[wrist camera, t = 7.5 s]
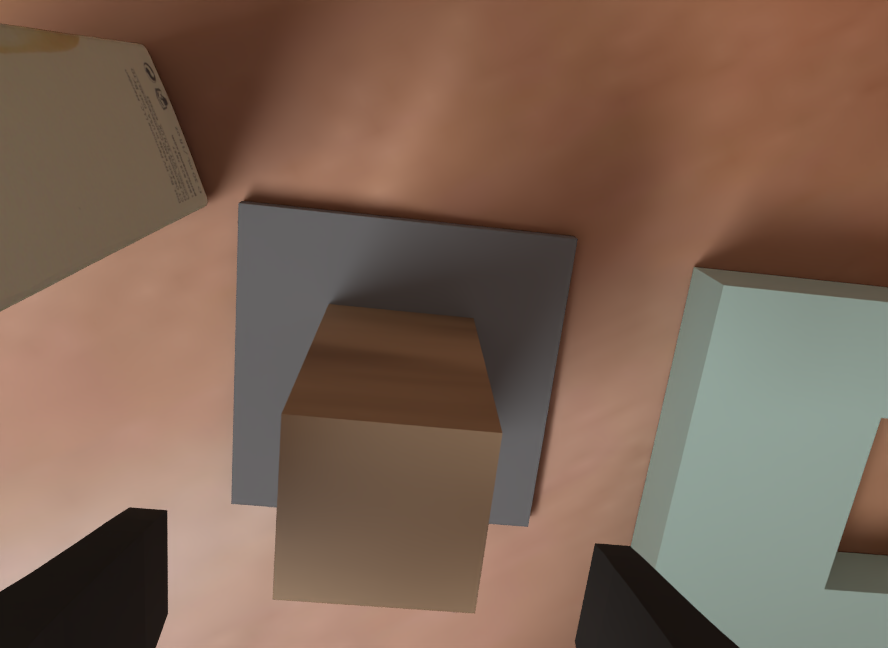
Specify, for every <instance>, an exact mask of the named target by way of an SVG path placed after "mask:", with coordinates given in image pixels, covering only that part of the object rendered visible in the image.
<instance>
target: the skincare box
mask: <svg viewBox="0 0 888 648" xmlns="http://www.w3.org/2000/svg"><path fill="white" fill-rule="evenodd" d="M207 203H208V200H207V196H206V194H205V191H204V188H203V186H202V183H201V181H200V178H199V175H198V173H197V170H196V167H195V164H194V161H193V159H192V156H191V153H190V151H189V148H188V146H187V143H186V140H185V138H184V135H183V133H182V130H181V128H180V125H179V122H178V120H177V117H176V115H175V112H174V110H173V107H172V105H171V103H170V100H169V98H168V96H167V93H166V91H165V89H164V86H163V84H162V82H161V80H160V78H159V75H158V73H157V71H156V68H155V66H154V64H153V62H152V59H151V57H150V55H149V53H148V51H147V49H146V48H145V47H144V46H143V45H141V44H138V43H131V42H123V41H117V40H110V39H102V38H97V37H89V36H81V35H74V34H66V33H60V32H54V31H47V30H41V29H34V28H28V27H22V26H14V25H7V24H0V311H2V310H4V309H6V308H8V307H10V306H12V305H14V304H16V303H18V302H20V301H22V300H24V299H26V298H28V297H30V296H32V295H33V294H35V293H37V292H39V291H41V290H43V289H45V288H47V287H49V286H51V285H53V284H55V283H57V282H58V281H60V280H62V279H64V278H66V277H68V276H70V275H72V274H74V273H76V272H77V271H79V270H81V269H83V268H85V267H87V266H89V265H91V264H93V263H95V262H97V261H99V260H101V259H103V258H105V257H106V256H108V255H110V254H112V253H114V252H116V251H118V250H120V249H122V248H124V247H126V246H128V245H130V244H132V243H134V242H136V241H138V240H140V239H142V238H144V237H145V236H147V235H149V234H151V233H153V232H155V231H157V230H159V229H161V228H163V227H165V226H167V225H169V224H171V223H173V222H175V221H177V220H179V219H181V218H183V217H185V216H187V215H189V214H191V213H193V212H195V211H197V210H199V209H201V208H203V207H205V206H206V205H207Z"/></svg>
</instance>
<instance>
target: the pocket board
mask: <svg viewBox="0 0 888 648" xmlns="http://www.w3.org/2000/svg"><path fill="white" fill-rule="evenodd" d="M881 418H888V287H880V286H870V285H861V284H851V283H842V282H832V281H823V280H813V279H804V278H794V277H785V276H775V275H765V274H756V273H746V272H737V271H727V270H718V269H708V268H699V267H694V269H693V274H692V278H691V283H690V287H689V291H688V296H687V300H686V305H685V309H684V314H683V318H682V322H681V327H680V331H679V336H678V340H677V344H676V349H675V353H674V358H673V362H672V367H671V371H670V375H669V380H668V384H667V389H666V393H665V397H664V402H663V406H662V411H661V415H660V419H659V424H658V428H657V433H656V437H655V442H654V446H653V450H652V455H651V459H650V464H649V468H648V472H647V477H646V481H645V486H644V490H643V495H642V499H641V503H640V508H639V512H638V517H637V521H636V525H635V530H634V534H633V539H632V543H631V547H632V548H633V549H634V550H635V551H636V552H637V553H638V554H640V555H641V556H642V557H643V558H644V559H645V560H646V561H647V562H648V563H649V564H650V565H651V566H652V567H653V568H654V569H655V570H657V571H658V572H659V573H660V574H661V575H662V576H663V577H664V578H665V579H666V580H667V581H668V582H669V583H670V584H671V585H672V586H673V587H674V588H675V589H676V590H677V591H678V592H679V593H680V594H681V595H683V596H684V597H685V598H686V599H687V600H688V601H689V602H690V603H691V604H692V605H693V606H694V607H695V608H696V609H697V610H698V611H699V612H701V613H702V614H703V615H704V616H705V617H706V618H707V619H708V620H709V621H710V622H711V623H713V624H714V625H715V626H716V627H717V628H718V629H719V630H720V631H721V632H723V633H724V634H725V635H726V636H727V637H728V638H729V639H730V640H732V641H733V642H734V643H735V644H736V645H737V646H738V647H740V648H888V556H886V555H873V554H860V553H847V552H837V549H838V546H839V543H840V540H841V537H842V534H843V531H844V528H845V525H846V522H847V519H848V516H849V513H850V510H851V507H852V504H853V501H854V498H855V495H856V492H857V489H858V486H859V483H860V480H861V477H862V474H863V471H864V468H865V465H866V462H867V459H868V456H869V453H870V450H871V447H872V444H873V441H874V438H875V435H876V432H877V429H878V426H879V423H880V420H881Z"/></svg>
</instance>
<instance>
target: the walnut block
mask: <svg viewBox="0 0 888 648" xmlns="http://www.w3.org/2000/svg"><path fill="white" fill-rule="evenodd" d="M501 440H502V429H501V425H500V421H499V417H498V413H497V409H496V405H495V401H494V397H493V393H492V389H491V385H490V382H489V378H488V374H487V370H486V366H485V362H484V358H483V354H482V350H481V346H480V342H479V338H478V334H477V330H476V326H475V322H474V318H467V317H457V316H447V315H436V314H426V313H416V312H406V311H395V310H385V309H375V308H365V307H354V306H344V305H334V304H328V307H327V309H326V311H325V314H324V316H323V318H322V321H321V323H320V325H319V328H318V330H317V332H316V335H315V337H314V339H313V341H312V344H311V346H310V348H309V351H308V353H307V355H306V358H305V360H304V362H303V365H302V367H301V369H300V372H299V374H298V376H297V379H296V381H295V383H294V386H293V388H292V390H291V393H290V395H289V397H288V400H287V402H286V404H285V407H284V409H283V411H282V414H281V431H280V452H279V474H278V495H277V517H276V538H275V560H274V581H273V600H287V601H301V602H316V603H331V604H345V605H360V606H374V607H389V608H403V609H418V610H432V611H447V612H462V613H475V610H476V603H477V597H478V590H479V584H480V577H481V571H482V564H483V557H484V551H485V544H486V538H487V531H488V525H489V518H490V512H491V505H492V499H493V492H494V486H495V479H496V472H497V466H498V459H499V453H500V446H501Z"/></svg>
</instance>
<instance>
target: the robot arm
mask: <svg viewBox="0 0 888 648" xmlns="http://www.w3.org/2000/svg"><path fill="white" fill-rule="evenodd" d="M167 615H168V556H167V510H155V509H142V508H128V509H126V510H125V511H123V512H122V513H120V514H118V515H117V516H115V517H114V518H112V519H111V520H109V521H108V522H106V523H105V524H103V525H102V526H100V527H99V528H97V529H96V530H95V531H93V532H92V533H90V534H89V535H87V536H86V537H84V538H83V539H81V540H80V541H78V542H77V543H75V544H74V545H72V546H71V547H69V548H68V549H66V550H65V551H63V552H62V553H60V554H59V555H57V556H56V557H54V558H53V559H51V560H50V561H48V562H47V563H45V564H44V565H42V566H41V567H39V568H38V569H36V570H35V571H33V572H32V573H30V574H29V575H27V576H25V577H24V578H22V579H20V580H19V581H17V582H15V583H14V584H12V585H10V586H9V587H7V588H5V589H4V590H2V591H1V592H0V648H156V645H157V643H158V640H159V637H160V634H161V631H162V629H163V626H164V623H165V620H166V617H167ZM575 644H576V648H740V647H738V646H737V645H736V644H735V643H734V642H733V641H732V640H730V639H729V638H728V637H727V636H726V635H725V634H724V633H723V632H721V631H720V630H719V629H718V628H717V627H716V626H715V625H714V624H713V623H711V622H710V621H709V620H708V619H707V618H706V617H705V616H704V615H703V614H702V613H701V612H699V611H698V610H697V609H696V608H695V607H694V606H693V605H692V604H691V603H690V602H689V601H688V600H687V599H686V598H685V597H684V596H683V595H681V594H680V593H679V592H678V591H677V590H676V589H675V588H674V587H673V586H672V585H671V584H670V583H669V582H668V581H667V580H666V579H665V578H664V577H663V576H662V575H661V574H660V573H659V572H658V571H657V570H655V569H654V568H653V567H652V566H651V565H650V564H649V563H648V562H647V561H646V560H645V559H644V558H643V557H642V556H641V555H640V554H638V553H637V552H636V551H635V550H634V549H633V548H632V547H630V546H622V545H609V544H596V543H595V546H594V551H593V556H592V561H591V566H590V571H589V576H588V581H587V585H586V590H585V595H584V600H583V605H582V610H581V615H580V619H579V624H578V629H577V634H576V639H575Z"/></svg>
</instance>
